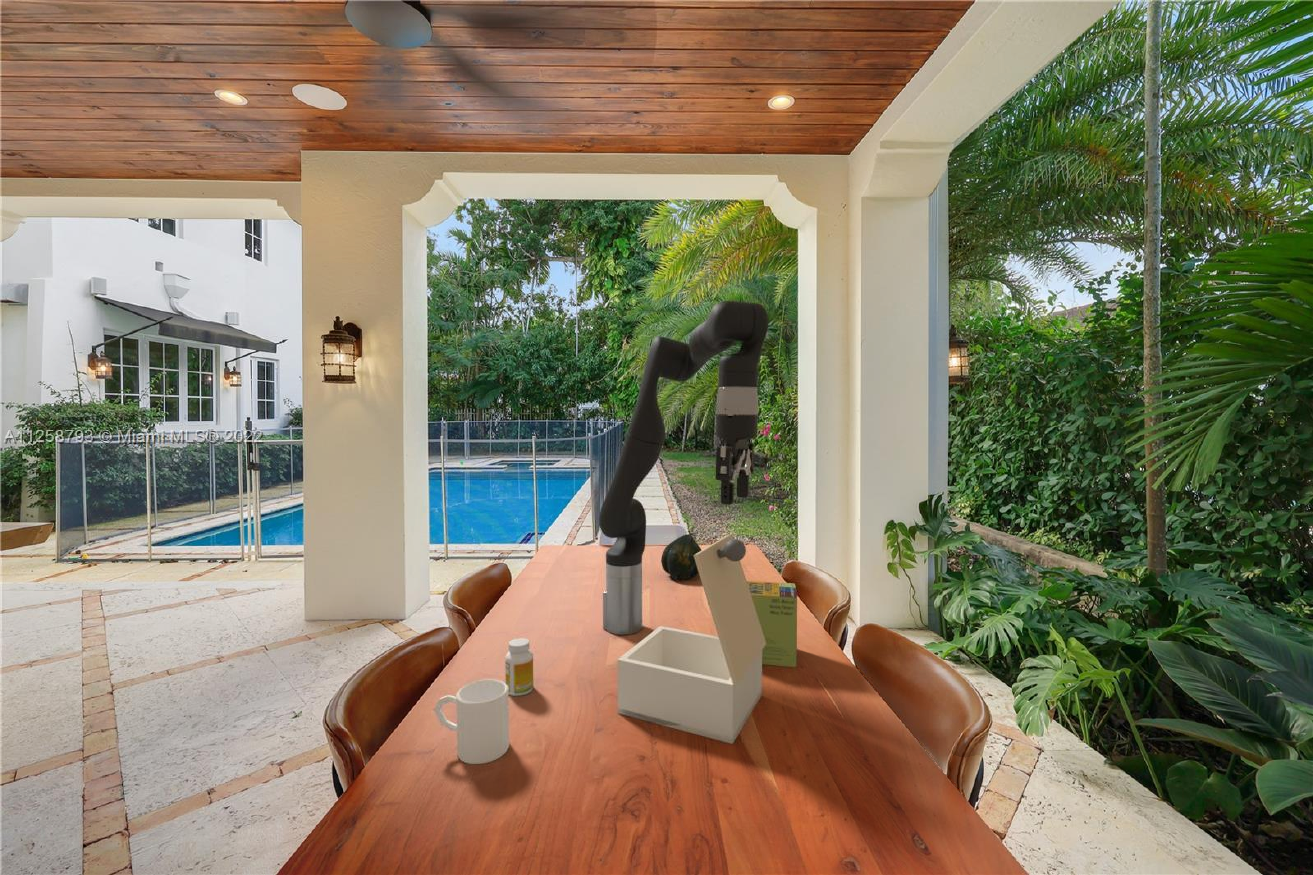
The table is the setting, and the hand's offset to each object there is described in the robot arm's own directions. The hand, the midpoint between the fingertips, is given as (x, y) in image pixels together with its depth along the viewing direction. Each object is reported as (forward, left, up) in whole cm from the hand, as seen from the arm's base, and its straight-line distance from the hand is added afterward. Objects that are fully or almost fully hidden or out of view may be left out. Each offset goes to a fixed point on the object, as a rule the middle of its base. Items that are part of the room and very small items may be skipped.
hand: (735, 500), depth 102 cm
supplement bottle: (-41, -12, -39) cm, 58 cm away
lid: (0, -2, -18) cm, 19 cm away
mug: (-35, -31, -39) cm, 61 cm away
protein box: (-2, +25, -39) cm, 46 cm away
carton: (-8, -2, -39) cm, 40 cm away
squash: (-43, +74, -39) cm, 94 cm away
